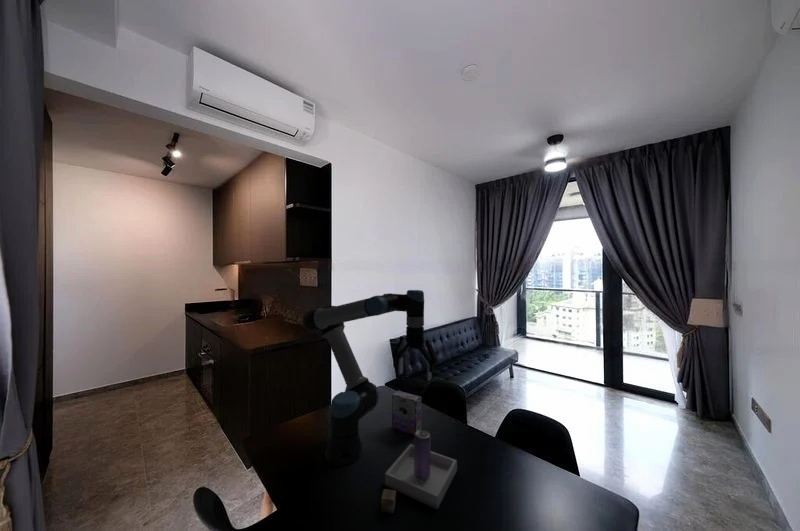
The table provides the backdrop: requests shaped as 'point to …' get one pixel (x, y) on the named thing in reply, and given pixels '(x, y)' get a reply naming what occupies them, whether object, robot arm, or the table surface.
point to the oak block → (388, 501)
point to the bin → (422, 490)
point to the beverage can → (422, 454)
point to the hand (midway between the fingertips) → (414, 376)
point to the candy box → (406, 412)
